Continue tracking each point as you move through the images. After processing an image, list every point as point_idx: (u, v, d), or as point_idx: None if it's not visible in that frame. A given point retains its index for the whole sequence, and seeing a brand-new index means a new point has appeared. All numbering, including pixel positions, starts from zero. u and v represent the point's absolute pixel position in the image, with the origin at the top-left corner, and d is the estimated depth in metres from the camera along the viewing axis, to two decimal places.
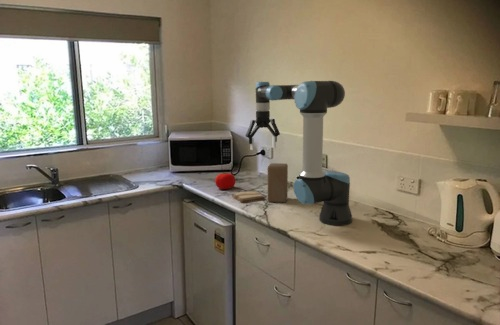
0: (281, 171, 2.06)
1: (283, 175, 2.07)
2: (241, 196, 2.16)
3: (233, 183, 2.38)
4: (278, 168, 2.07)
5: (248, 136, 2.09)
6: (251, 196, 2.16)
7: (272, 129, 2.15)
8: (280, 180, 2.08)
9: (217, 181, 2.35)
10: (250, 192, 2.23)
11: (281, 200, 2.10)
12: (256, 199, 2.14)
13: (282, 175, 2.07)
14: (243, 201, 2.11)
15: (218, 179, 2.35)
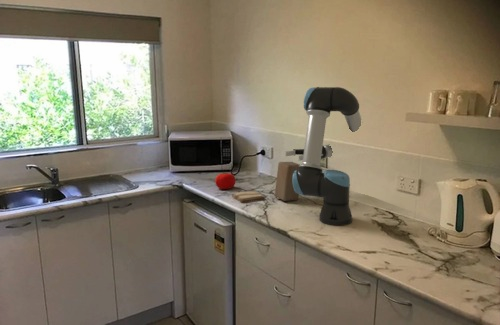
0: (285, 169, 2.08)
1: (286, 173, 2.07)
2: (241, 196, 2.16)
3: (233, 183, 2.38)
4: (284, 165, 2.09)
5: (294, 149, 2.25)
6: (251, 196, 2.16)
7: None
8: (283, 177, 2.09)
9: (217, 181, 2.35)
10: (250, 192, 2.23)
11: (282, 197, 2.11)
12: (256, 199, 2.14)
13: (285, 173, 2.08)
14: (243, 201, 2.11)
15: (218, 179, 2.35)
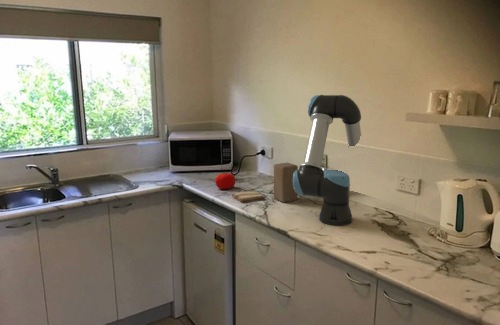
0: (280, 171, 2.08)
1: (281, 175, 2.07)
2: (241, 196, 2.16)
3: (233, 183, 2.38)
4: (279, 167, 2.09)
5: None
6: (251, 196, 2.16)
7: None
8: (280, 179, 2.09)
9: (217, 181, 2.35)
10: (250, 192, 2.23)
11: (280, 199, 2.11)
12: (256, 199, 2.14)
13: (281, 175, 2.08)
14: (243, 201, 2.11)
15: (218, 179, 2.35)
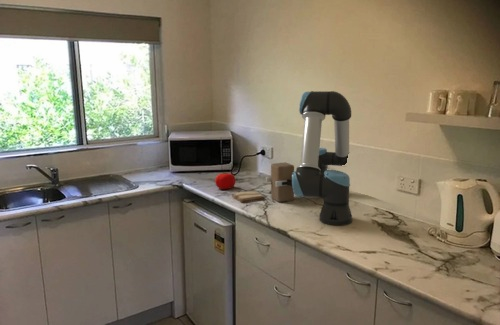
0: (276, 170, 2.09)
1: (277, 174, 2.08)
2: (241, 196, 2.16)
3: (233, 183, 2.38)
4: (275, 167, 2.10)
5: None
6: (251, 196, 2.16)
7: None
8: (275, 178, 2.10)
9: (217, 181, 2.35)
10: (250, 192, 2.23)
11: (276, 199, 2.12)
12: (256, 199, 2.14)
13: (276, 174, 2.09)
14: (243, 201, 2.11)
15: (218, 179, 2.35)
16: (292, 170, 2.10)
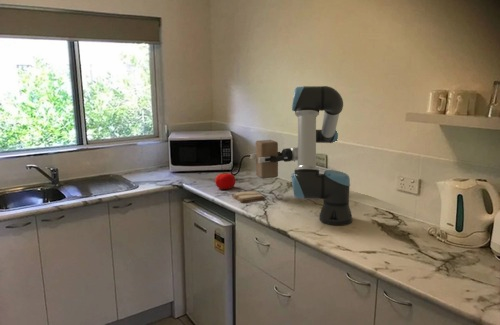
0: (259, 147, 2.10)
1: (260, 151, 2.10)
2: (241, 196, 2.16)
3: (233, 183, 2.38)
4: (259, 143, 2.11)
5: None
6: (251, 196, 2.16)
7: None
8: (259, 155, 2.12)
9: (217, 181, 2.35)
10: (250, 192, 2.23)
11: (260, 175, 2.14)
12: (256, 199, 2.14)
13: (260, 150, 2.10)
14: (243, 201, 2.11)
15: (218, 179, 2.35)
16: (276, 147, 2.11)
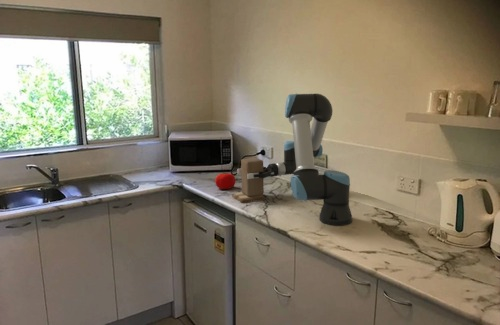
0: (245, 166, 2.13)
1: (246, 169, 2.12)
2: (241, 196, 2.16)
3: (233, 183, 2.38)
4: (244, 162, 2.14)
5: None
6: (251, 196, 2.16)
7: (263, 171, 2.15)
8: (245, 173, 2.14)
9: (217, 181, 2.35)
10: None
11: (246, 193, 2.16)
12: (256, 199, 2.14)
13: (246, 169, 2.12)
14: (243, 201, 2.11)
15: (218, 179, 2.35)
16: (261, 165, 2.14)
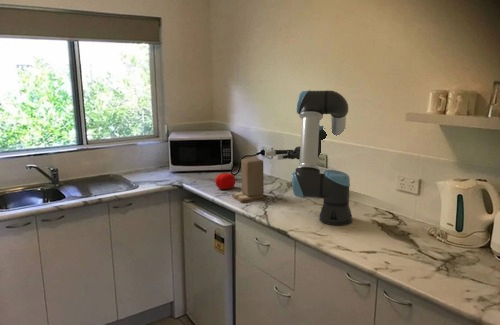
0: (245, 166, 2.13)
1: (246, 169, 2.12)
2: (241, 196, 2.16)
3: (233, 183, 2.38)
4: (244, 162, 2.14)
5: None
6: (251, 196, 2.16)
7: (292, 153, 2.18)
8: (245, 173, 2.14)
9: (217, 181, 2.35)
10: None
11: (246, 193, 2.16)
12: (256, 199, 2.14)
13: (246, 169, 2.12)
14: (243, 201, 2.11)
15: (218, 179, 2.35)
16: (261, 165, 2.14)
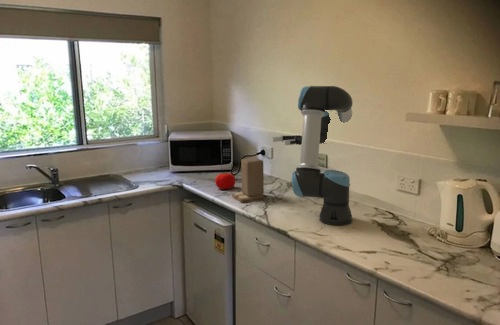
0: (245, 166, 2.13)
1: (246, 169, 2.12)
2: (241, 196, 2.16)
3: (233, 183, 2.38)
4: (244, 162, 2.14)
5: None
6: (251, 196, 2.16)
7: (299, 138, 2.15)
8: (245, 173, 2.14)
9: (217, 181, 2.35)
10: None
11: (246, 193, 2.16)
12: (256, 199, 2.14)
13: (246, 169, 2.13)
14: (243, 201, 2.11)
15: (218, 179, 2.35)
16: (261, 165, 2.14)
